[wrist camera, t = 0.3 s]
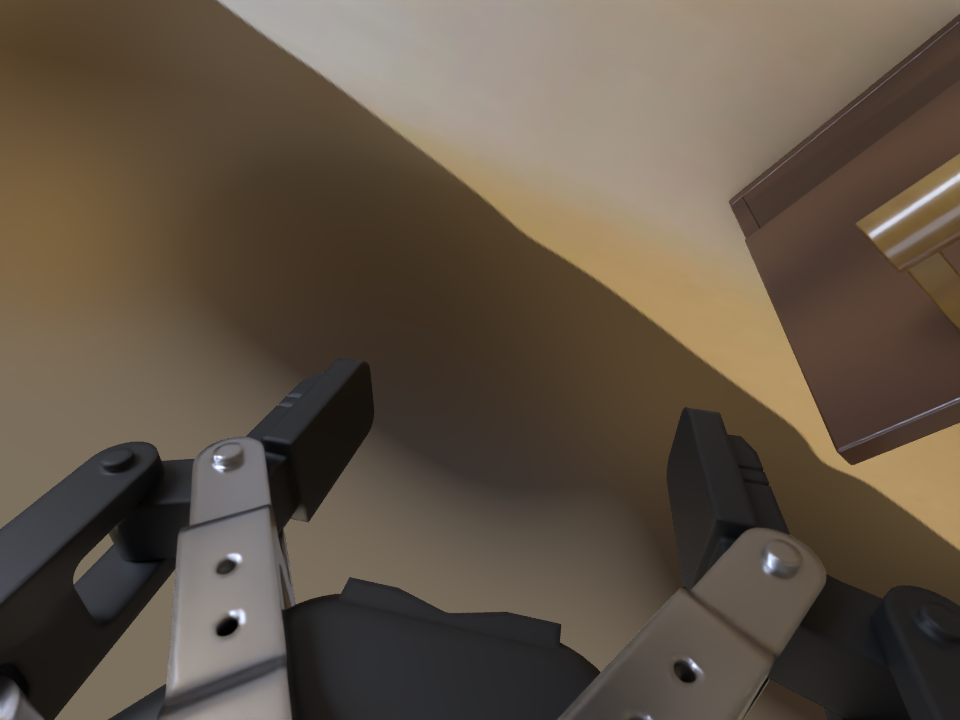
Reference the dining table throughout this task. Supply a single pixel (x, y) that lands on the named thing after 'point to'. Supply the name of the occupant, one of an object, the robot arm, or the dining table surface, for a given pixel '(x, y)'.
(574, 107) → the dining table surface
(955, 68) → the case
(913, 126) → the case cover
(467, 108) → the dining table surface
